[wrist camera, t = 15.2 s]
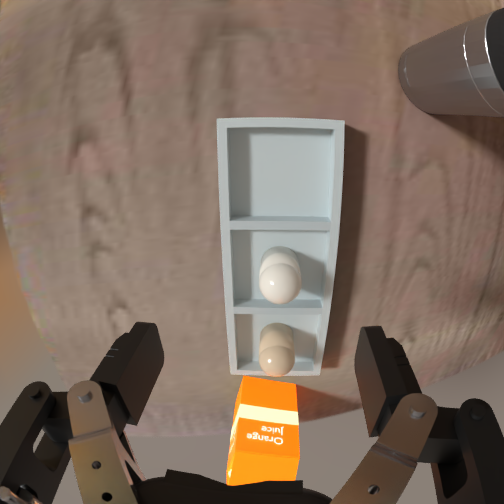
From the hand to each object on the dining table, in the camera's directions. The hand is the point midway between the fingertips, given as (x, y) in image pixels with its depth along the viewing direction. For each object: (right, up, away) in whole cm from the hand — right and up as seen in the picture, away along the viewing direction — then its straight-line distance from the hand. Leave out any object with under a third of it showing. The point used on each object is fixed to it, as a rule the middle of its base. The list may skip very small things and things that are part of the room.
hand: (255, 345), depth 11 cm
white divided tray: (+3, +3, +27) cm, 27 cm away
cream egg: (+3, +2, +26) cm, 26 cm away
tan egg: (+3, -8, +30) cm, 31 cm away
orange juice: (+2, -20, +37) cm, 42 cm away
